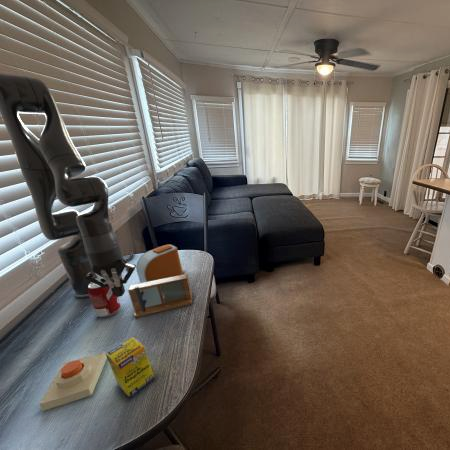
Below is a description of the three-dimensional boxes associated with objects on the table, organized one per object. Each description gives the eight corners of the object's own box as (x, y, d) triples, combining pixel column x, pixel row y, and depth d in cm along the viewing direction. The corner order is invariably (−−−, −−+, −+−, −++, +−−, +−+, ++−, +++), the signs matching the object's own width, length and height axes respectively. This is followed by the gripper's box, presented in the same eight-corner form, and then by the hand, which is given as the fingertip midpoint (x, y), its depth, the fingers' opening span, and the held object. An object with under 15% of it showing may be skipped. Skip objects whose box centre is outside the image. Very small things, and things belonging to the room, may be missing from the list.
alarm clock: (174, 268, 111) (168, 241, 106) (184, 273, 106) (178, 246, 102) (140, 283, 100) (131, 254, 95) (149, 290, 95) (140, 260, 90)
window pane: (142, 306, 84) (134, 281, 81) (164, 301, 87) (157, 276, 83) (139, 316, 80) (130, 289, 76) (162, 310, 82) (155, 284, 79)
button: (67, 367, 60) (64, 362, 59) (85, 363, 61) (82, 357, 60) (60, 380, 57) (57, 375, 56) (79, 375, 58) (76, 370, 57)
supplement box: (130, 399, 56) (116, 365, 52) (118, 386, 59) (104, 353, 55) (155, 378, 61) (144, 346, 57) (143, 367, 64) (132, 335, 60)
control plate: (66, 369, 63) (60, 358, 62) (107, 358, 66) (102, 347, 65) (43, 410, 54) (35, 399, 52) (91, 395, 57) (86, 383, 55)
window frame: (138, 306, 86) (130, 283, 83) (192, 294, 92) (187, 272, 89) (134, 317, 81) (126, 293, 78) (191, 303, 87) (186, 280, 84)
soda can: (108, 319, 80) (97, 290, 76) (92, 317, 82) (80, 288, 77) (125, 306, 87) (116, 278, 82) (110, 304, 88) (100, 276, 84)
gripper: (132, 237, 75) (146, 284, 82) (80, 245, 71) (99, 293, 77) (125, 247, 69) (141, 296, 75) (68, 256, 64) (90, 308, 71)
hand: (120, 295), depth 76 cm, fingers closed
